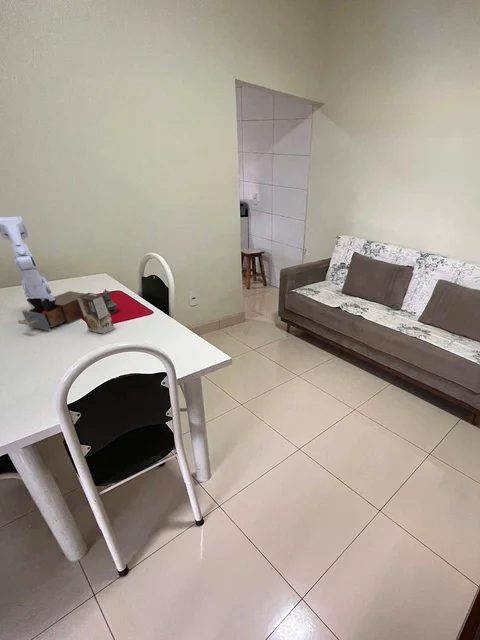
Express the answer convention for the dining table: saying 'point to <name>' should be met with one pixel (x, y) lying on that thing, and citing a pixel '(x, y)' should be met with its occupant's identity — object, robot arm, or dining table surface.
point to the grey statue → (109, 302)
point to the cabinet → (70, 305)
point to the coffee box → (96, 312)
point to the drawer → (43, 318)
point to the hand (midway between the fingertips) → (46, 313)
